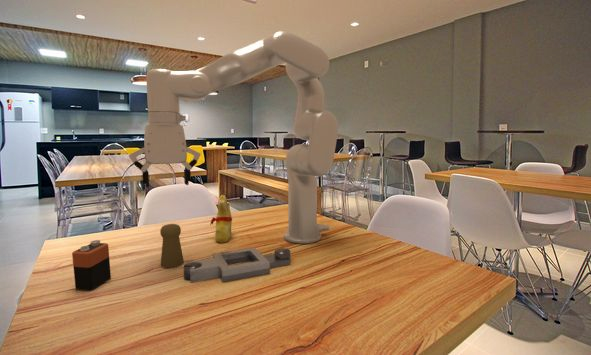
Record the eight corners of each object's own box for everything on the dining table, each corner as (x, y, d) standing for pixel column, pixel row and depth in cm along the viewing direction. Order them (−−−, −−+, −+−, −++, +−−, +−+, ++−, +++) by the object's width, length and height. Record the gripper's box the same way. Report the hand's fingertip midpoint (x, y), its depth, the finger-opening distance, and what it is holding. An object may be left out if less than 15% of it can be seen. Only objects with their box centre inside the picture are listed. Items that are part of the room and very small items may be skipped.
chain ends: (281, 253, 99) (281, 243, 99) (298, 268, 88) (298, 257, 88) (181, 269, 87) (180, 258, 87) (187, 289, 77) (186, 276, 76)
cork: (176, 269, 88) (174, 228, 86) (155, 267, 89) (153, 227, 87) (188, 260, 93) (186, 222, 92) (168, 258, 95) (166, 221, 93)
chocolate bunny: (234, 233, 118) (233, 191, 116) (229, 243, 107) (227, 198, 105) (214, 233, 118) (213, 191, 116) (207, 244, 107) (206, 198, 105)
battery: (112, 278, 82) (108, 239, 81) (91, 291, 76) (87, 249, 74) (95, 277, 83) (92, 238, 81) (74, 290, 76) (70, 248, 75)
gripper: (196, 120, 93) (198, 181, 95) (127, 119, 85) (131, 185, 88) (201, 120, 86) (203, 185, 88) (126, 118, 79) (130, 189, 81)
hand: (167, 185), depth 88 cm, fingers open, 9 cm apart
